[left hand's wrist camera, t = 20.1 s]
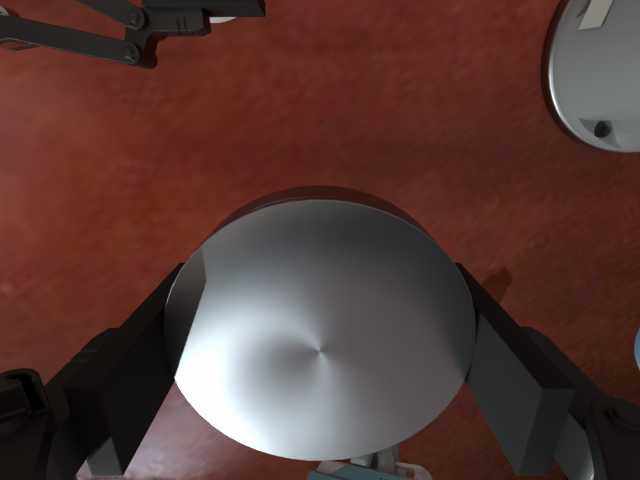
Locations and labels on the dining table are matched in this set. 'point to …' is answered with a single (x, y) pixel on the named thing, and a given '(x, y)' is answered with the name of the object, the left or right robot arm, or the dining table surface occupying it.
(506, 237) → the dining table surface
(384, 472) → the toy gun
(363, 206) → the lid
